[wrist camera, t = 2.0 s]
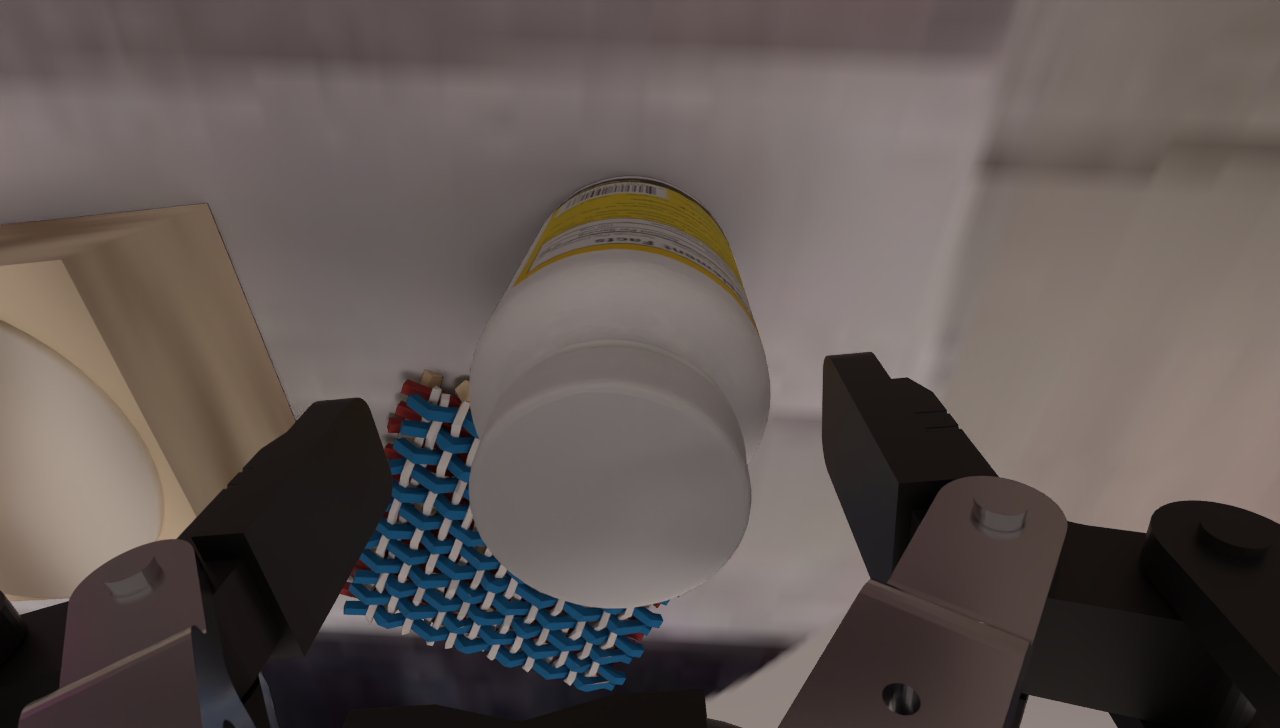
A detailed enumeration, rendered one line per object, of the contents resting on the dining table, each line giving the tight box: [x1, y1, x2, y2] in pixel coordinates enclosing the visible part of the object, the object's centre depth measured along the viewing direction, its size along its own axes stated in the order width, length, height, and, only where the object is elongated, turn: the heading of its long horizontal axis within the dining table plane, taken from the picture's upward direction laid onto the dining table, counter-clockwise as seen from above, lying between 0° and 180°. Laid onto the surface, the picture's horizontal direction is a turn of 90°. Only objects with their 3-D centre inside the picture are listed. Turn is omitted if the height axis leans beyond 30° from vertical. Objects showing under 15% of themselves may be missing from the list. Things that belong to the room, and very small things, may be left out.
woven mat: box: [340, 370, 679, 692], centre depth 22 cm, size 10×11×2 cm
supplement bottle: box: [469, 176, 770, 608], centre depth 13 cm, size 5×5×10 cm
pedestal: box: [0, 203, 295, 601], centre depth 18 cm, size 9×9×5 cm
